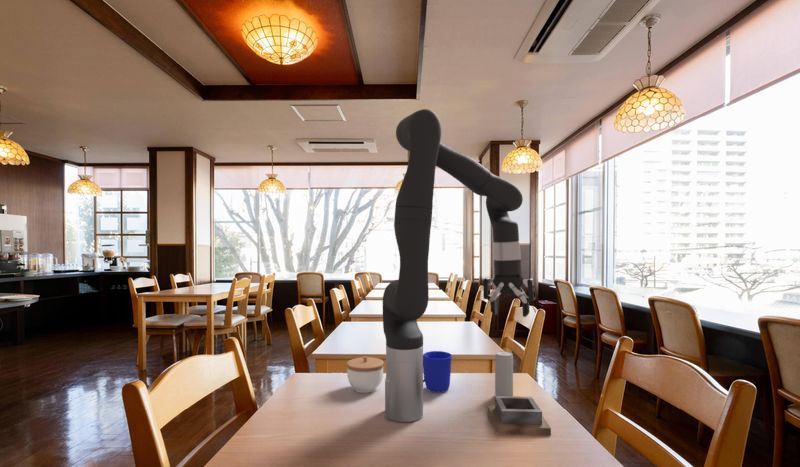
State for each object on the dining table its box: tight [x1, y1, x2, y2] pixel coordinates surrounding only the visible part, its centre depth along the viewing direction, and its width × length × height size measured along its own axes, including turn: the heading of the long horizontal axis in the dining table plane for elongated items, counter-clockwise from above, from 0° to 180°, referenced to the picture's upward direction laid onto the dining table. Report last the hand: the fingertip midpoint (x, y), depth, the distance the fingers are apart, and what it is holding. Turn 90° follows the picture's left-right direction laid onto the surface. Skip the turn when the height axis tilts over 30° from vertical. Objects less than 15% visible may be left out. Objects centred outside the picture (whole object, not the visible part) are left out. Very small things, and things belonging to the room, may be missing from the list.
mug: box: [423, 350, 453, 393], centre depth 122 cm, size 8×12×10 cm
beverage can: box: [494, 350, 514, 396], centre depth 116 cm, size 5×5×12 cm
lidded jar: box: [346, 355, 385, 394], centre depth 122 cm, size 11×11×9 cm
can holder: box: [487, 395, 552, 436], centre depth 100 cm, size 12×12×4 cm
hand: (510, 315), depth 118 cm, fingers open, 8 cm apart
